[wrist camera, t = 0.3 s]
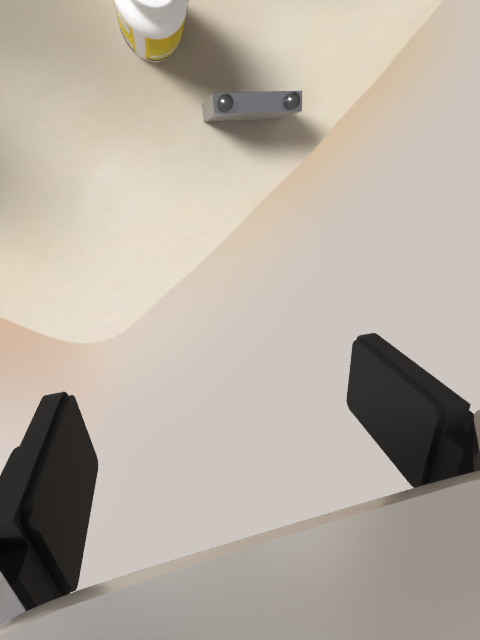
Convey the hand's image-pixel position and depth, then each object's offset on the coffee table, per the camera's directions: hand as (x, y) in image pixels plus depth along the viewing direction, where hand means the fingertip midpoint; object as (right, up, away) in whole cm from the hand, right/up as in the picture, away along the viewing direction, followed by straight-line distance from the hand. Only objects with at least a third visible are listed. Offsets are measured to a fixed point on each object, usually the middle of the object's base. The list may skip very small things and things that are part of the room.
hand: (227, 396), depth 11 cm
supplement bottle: (-8, +29, +18) cm, 35 cm away
